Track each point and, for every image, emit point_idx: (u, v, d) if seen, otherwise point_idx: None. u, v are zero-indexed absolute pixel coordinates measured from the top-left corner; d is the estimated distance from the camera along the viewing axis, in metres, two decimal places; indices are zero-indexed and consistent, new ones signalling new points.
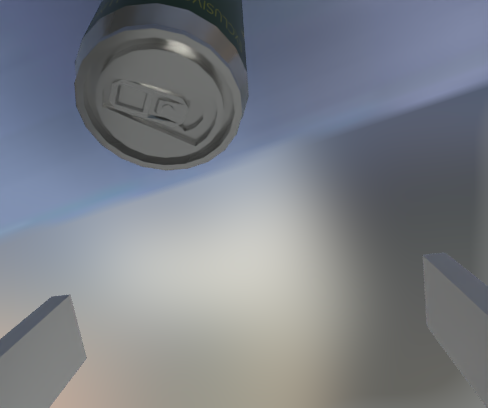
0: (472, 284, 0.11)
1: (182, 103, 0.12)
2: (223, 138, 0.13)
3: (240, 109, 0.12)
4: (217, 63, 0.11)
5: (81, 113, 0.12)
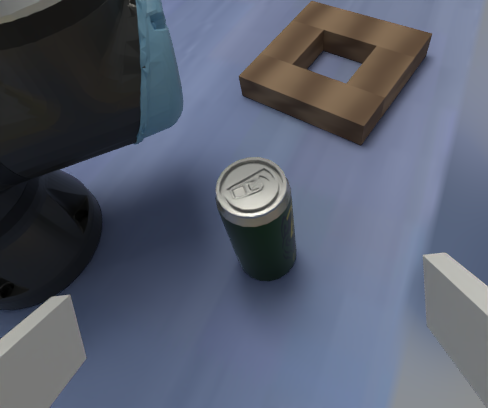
0: (472, 284, 0.11)
1: (256, 179, 0.28)
2: (282, 178, 0.27)
3: (275, 164, 0.28)
4: (254, 159, 0.28)
5: (226, 210, 0.27)
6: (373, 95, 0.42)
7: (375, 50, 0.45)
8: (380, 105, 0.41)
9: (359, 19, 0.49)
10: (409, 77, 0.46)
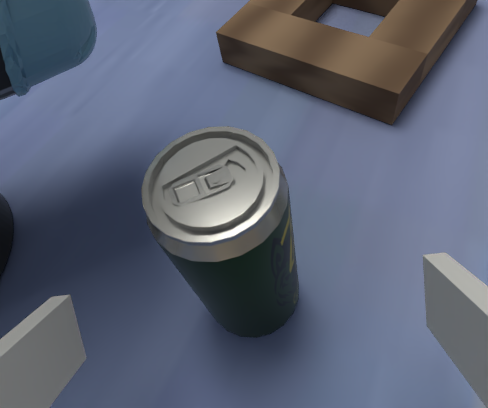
0: (472, 284, 0.11)
1: (220, 166, 0.14)
2: (271, 165, 0.14)
3: (258, 138, 0.14)
4: (219, 129, 0.15)
5: (159, 229, 0.13)
6: (410, 51, 0.29)
7: None
8: (421, 65, 0.28)
9: None
10: (455, 32, 0.33)
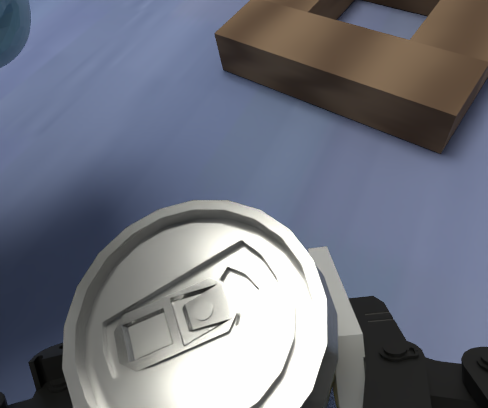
0: (327, 271, 0.13)
1: (213, 284, 0.08)
2: (308, 287, 0.07)
3: (282, 227, 0.08)
4: (211, 206, 0.08)
5: None
6: (465, 58, 0.22)
7: None
8: (481, 77, 0.21)
9: None
10: None
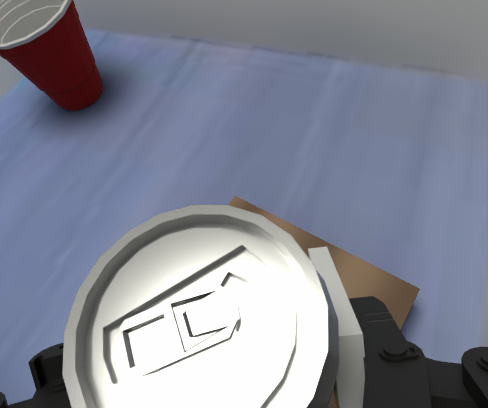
0: (327, 271, 0.13)
1: (214, 290, 0.08)
2: (309, 292, 0.07)
3: (283, 232, 0.08)
4: (211, 211, 0.08)
5: None
6: None
7: None
8: None
9: (304, 244, 0.31)
10: None
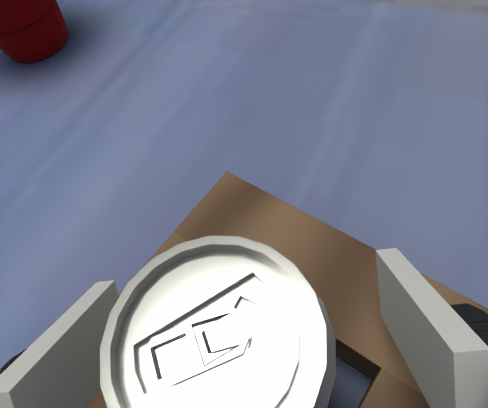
0: (410, 276, 0.12)
1: (228, 311, 0.09)
2: (310, 315, 0.08)
3: (288, 261, 0.09)
4: (225, 241, 0.10)
5: None
6: None
7: (377, 389, 0.15)
8: None
9: (334, 250, 0.19)
10: None
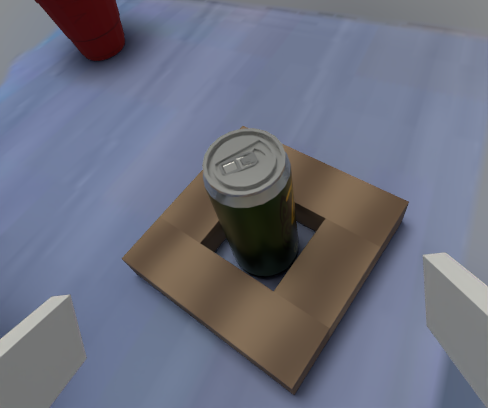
0: (472, 284, 0.11)
1: (250, 152, 0.23)
2: (280, 152, 0.23)
3: (272, 135, 0.24)
4: (248, 130, 0.24)
5: (214, 188, 0.23)
6: (312, 321, 0.26)
7: (322, 227, 0.30)
8: (321, 342, 0.26)
9: (304, 165, 0.33)
10: (375, 263, 0.31)
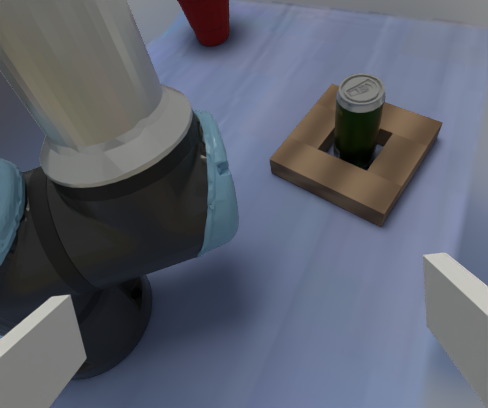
0: (472, 284, 0.11)
1: (364, 85, 0.44)
2: (380, 84, 0.44)
3: (375, 76, 0.45)
4: (360, 74, 0.45)
5: (348, 102, 0.43)
6: (391, 183, 0.47)
7: (392, 137, 0.51)
8: (397, 193, 0.47)
9: None
10: (422, 160, 0.52)
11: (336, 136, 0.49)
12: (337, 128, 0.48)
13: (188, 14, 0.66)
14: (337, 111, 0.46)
